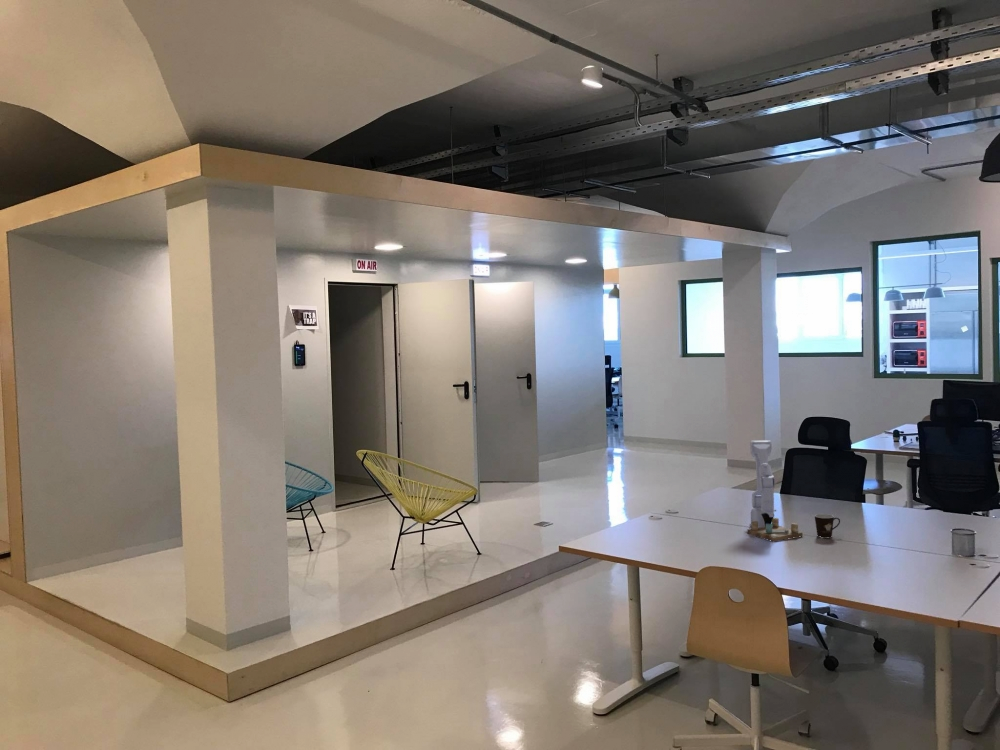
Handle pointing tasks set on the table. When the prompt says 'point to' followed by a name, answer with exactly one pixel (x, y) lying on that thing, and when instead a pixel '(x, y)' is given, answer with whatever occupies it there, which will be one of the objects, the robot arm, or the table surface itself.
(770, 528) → the folding leg
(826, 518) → the coffee mug
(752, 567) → the table surface
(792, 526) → the stool seat
